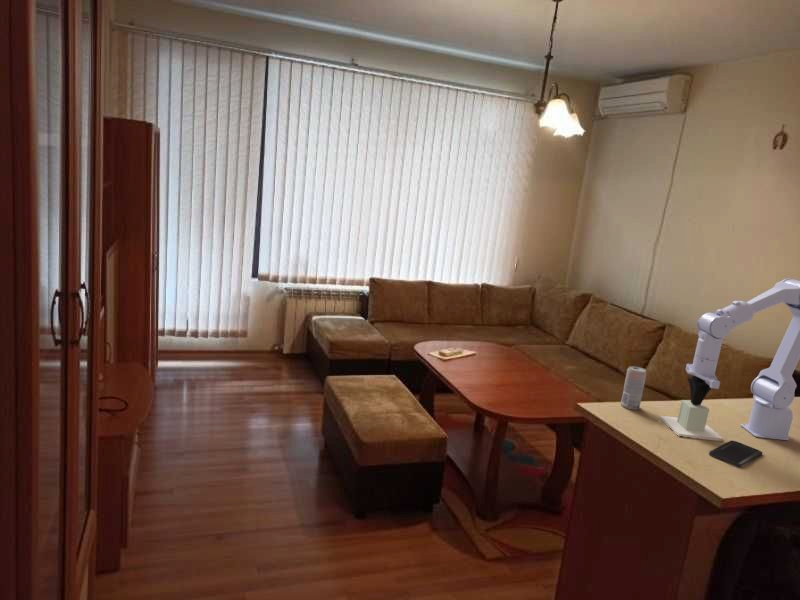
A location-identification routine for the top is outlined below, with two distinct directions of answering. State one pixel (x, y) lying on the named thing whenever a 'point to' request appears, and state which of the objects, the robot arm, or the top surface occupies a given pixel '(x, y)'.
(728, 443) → the phone
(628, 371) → the energy drink
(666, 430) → the top surface
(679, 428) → the post board
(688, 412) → the pale green slotted block
